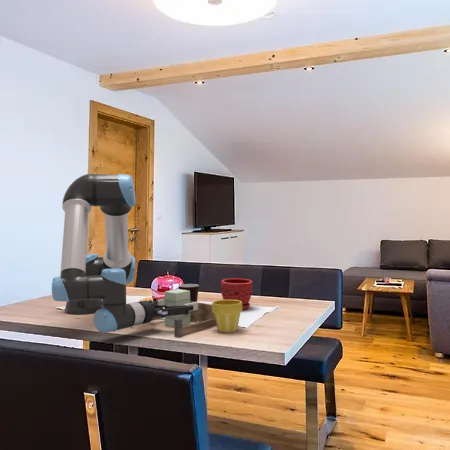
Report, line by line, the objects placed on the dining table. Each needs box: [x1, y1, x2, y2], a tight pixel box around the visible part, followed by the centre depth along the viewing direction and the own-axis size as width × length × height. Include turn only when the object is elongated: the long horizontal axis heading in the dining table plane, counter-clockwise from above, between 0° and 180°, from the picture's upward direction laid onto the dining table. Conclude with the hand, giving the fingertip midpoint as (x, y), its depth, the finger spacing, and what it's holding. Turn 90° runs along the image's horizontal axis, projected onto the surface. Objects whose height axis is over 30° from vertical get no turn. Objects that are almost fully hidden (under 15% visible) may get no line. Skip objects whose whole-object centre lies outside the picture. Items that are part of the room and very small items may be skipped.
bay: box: [152, 301, 217, 338], centre depth 165 cm, size 27×21×7 cm
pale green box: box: [163, 288, 191, 328], centre depth 167 cm, size 6×7×12 cm
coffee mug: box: [177, 283, 200, 302], centre depth 194 cm, size 12×9×10 cm
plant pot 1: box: [220, 277, 253, 311], centre depth 194 cm, size 13×13×12 cm
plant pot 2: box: [211, 299, 243, 333], centre depth 157 cm, size 10×10×10 cm
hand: (183, 303), depth 169 cm, fingers open, 13 cm apart
